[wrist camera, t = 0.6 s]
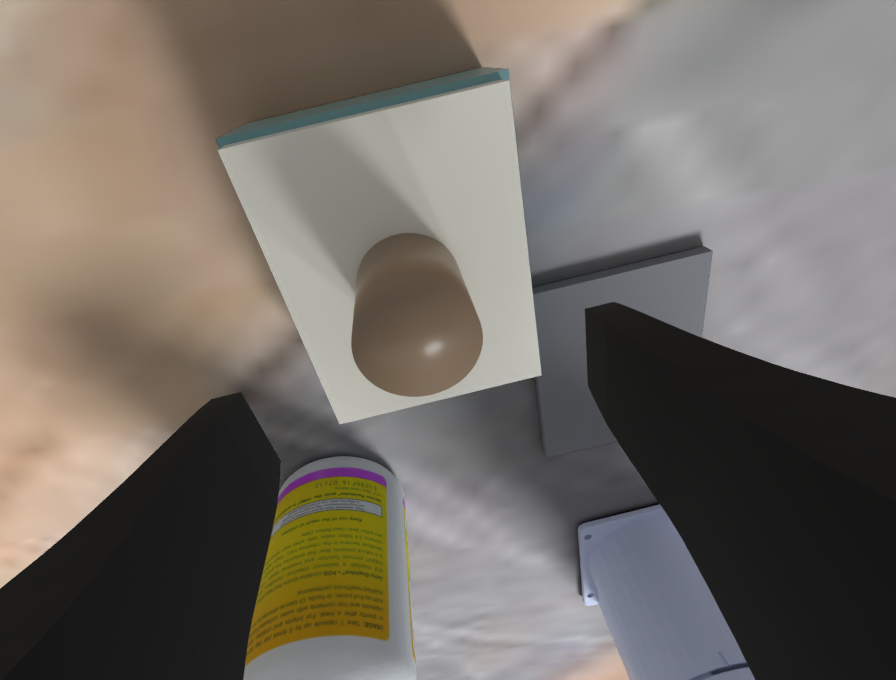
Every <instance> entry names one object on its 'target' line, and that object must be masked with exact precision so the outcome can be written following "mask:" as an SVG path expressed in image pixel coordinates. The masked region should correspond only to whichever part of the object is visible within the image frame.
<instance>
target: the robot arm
mask: <svg viewBox="0 0 896 680" xmlns="http://www.w3.org/2000/svg"><path fill="white" fill-rule="evenodd" d="M585 328H586V353H587V378H588V387H589V390H590V392H591V394H592V396H593V398H594V400H595V402H596V404H597V406H598V408H599V410H600V412H601V414H602V416H603V418H604V420H605V422H606V424H607V426H608V427H609V429H610V430H611V432H612V434H613V435H614V437H615V438H616V440H617V441H618V443H619V444H620V446H621V447H622V449H623V450H624V452H625V453H626V455H627V456H628V458H629V459H630V461H631V462H632V464H633V465H634V466H635V468H636V469H637V471H638V472H639V474H640V475H641V477H642V478H643V480H644V481H645V483H646V484H647V486H648V487H649V489H650V490H651V492H652V493H653V495H654V496H655V498H656V499H657V500H658V502H659V503H660V504H659V505H655V506H651V507H647V508H643V509H639V510H635V511H631V512H627V513H623V514H619V515H615V516H611V517H607V518H603V519H599V520H594V521H590V522H586V523H583V524H581V525H580V526H579V527H578V541H579V554H580V568H581V582H582V596H583V601H584V604H585V605H586V606H592V605H596V604H599V605H600V608H601V610H602V613H603V615H604V617H605V620H606V622H607V625H608V627H609V630H610V632H611V635H612V637H613V639H614V642H615V644H616V647H617V649H618V652H619V654H620V657H621V659H622V661H623V664H624V666H625V669H626V671H627V674H628V676H629V679H630V680H896V398H894V397H890V396H885V395H881V394H877V393H873V392H869V391H865V390H861V389H857V388H853V387H849V386H846V385H842V384H839V383H835V382H832V381H828V380H825V379H821V378H818V377H814V376H811V375H807V374H804V373H800V372H797V371H794V370H790V369H787V368H784V367H781V366H778V365H775V364H772V363H769V362H766V361H763V360H760V359H758V358H755V357H752V356H749V355H746V354H743V353H741V352H738V351H735V350H732V349H730V348H727V347H724V346H722V345H719V344H717V343H714V342H711V341H709V340H706V339H704V338H701V337H699V336H696V335H694V334H692V333H689V332H687V331H684V330H682V329H680V328H677V327H675V326H672V325H670V324H668V323H665V322H663V321H661V320H658V319H656V318H654V317H651V316H649V315H647V314H644V313H642V312H640V311H637V310H635V309H632V308H630V307H627V306H625V305H622V304H619V303H616V302H610V303H606V304H602V305H598V306H594V307H590V308H586V309H585ZM280 462H281V461H280V459H279V457H278V456H277V454H276V452H275V450H274V449H273V447H272V445H271V443H270V442H269V440H268V438H267V437H266V435H265V433H264V431H263V430H262V428H261V426H260V424H259V423H258V421H257V419H256V417H255V416H254V414H253V412H252V410H251V409H250V407H249V405H248V404H247V402H246V400H245V398H244V397H243V395H242V393H241V392H239V393H235V394H231V395H227V396H223V397H219V398H215V399H211V400H210V401H209V402H208V403H206V404H205V405H204V406H203V407H202V408H200V409H199V410H198V411H197V412H196V413H195V414H194V415H193V416H192V417H191V418H189V419H188V420H187V421H186V422H185V423H184V424H183V425H182V426H181V427H180V428H179V429H178V430H177V431H176V432H175V433H174V434H173V435H172V436H171V437H170V438H169V439H168V440H167V441H166V442H165V443H164V444H162V445H161V446H160V447H159V448H158V449H157V450H156V451H155V452H154V453H153V454H152V455H151V456H150V457H149V458H148V459H147V460H146V461H145V462H144V463H143V464H142V465H141V466H140V467H139V468H138V469H137V470H136V471H135V472H134V473H133V474H132V475H131V476H130V477H128V478H127V479H126V480H125V481H124V482H123V483H122V484H121V485H120V486H119V487H118V488H117V489H116V490H114V491H113V492H112V493H111V494H110V495H109V496H108V497H107V498H106V499H105V500H104V501H102V502H101V503H100V504H99V505H98V506H97V507H96V508H95V509H94V510H93V511H92V512H90V513H89V514H88V515H87V516H86V517H85V518H84V519H83V520H82V521H81V522H79V523H78V524H77V525H76V526H75V527H74V528H73V529H72V530H71V531H69V532H68V533H67V534H66V535H65V536H64V537H63V538H61V539H60V540H59V541H58V542H57V543H56V544H54V545H53V546H52V547H51V548H50V549H48V550H47V551H46V552H45V553H44V554H43V555H41V556H40V557H39V558H38V559H37V560H35V561H34V562H33V563H32V564H30V565H29V566H28V567H27V568H25V569H24V570H23V571H22V572H20V573H19V574H18V575H17V576H15V577H14V578H13V579H12V580H10V581H9V582H8V583H7V584H6V585H4V586H3V587H2V588H1V589H0V680H243V678H244V670H245V662H246V654H247V646H248V640H249V635H250V629H251V624H252V618H253V614H254V609H255V605H256V600H257V596H258V591H259V587H260V583H261V578H262V574H263V569H264V565H265V560H266V556H267V552H268V547H269V543H270V538H271V533H272V529H273V524H274V519H275V515H276V510H277V503H278V492H279V479H280Z"/></svg>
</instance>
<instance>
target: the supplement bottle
mask: <svg viewBox="0 0 896 680" xmlns="http://www.w3.org/2000/svg"><path fill="white" fill-rule="evenodd" d="M243 680H417V678H416V663H415V649H414V637H413V621H412V606H411V591H410V575H409V558H408V542H407V525H406V512H405V501H404V494H403V490H402V487H401V485H400V483H399V481H398V480H397V479H396V477H395V476H394V475H393V474H392V473H391V472H390V471H389V470H387V469H386V468H385V467H383V466H381V465H380V464H378V463H375V462H373V461H370V460H367V459H363V458H358V457H350V456H337V457H329V458H324V459H320V460H317V461H314V462H311V463H309V464H307V465H305V466H303V467H301V468H300V469H298V470H297V471H296V472H294V473H293V474H292V475H291V476H290V477H289V478H288V479H287V480H286V481H285V483H284V484H283V486H282V487H281V489H280V491H279V494H278V503H277V510H276V515H275V519H274V524H273V529H272V533H271V538H270V543H269V547H268V552H267V556H266V560H265V565H264V569H263V574H262V578H261V583H260V587H259V591H258V596H257V600H256V605H255V609H254V614H253V618H252V624H251V629H250V635H249V640H248V646H247V654H246V662H245V670H244V678H243Z"/></svg>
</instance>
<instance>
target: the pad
mask: <svg viewBox="0 0 896 680" xmlns="http://www.w3.org/2000/svg"><path fill="white" fill-rule="evenodd" d="M712 252H713V251H712V250H710V249H708V248H706V247H705V246H702V247H698V248H694V249H690V250H686V251H682V252H678V253H674V254H669V255H665V256H661V257H657V258H653V259H649V260H645V261H641V262H636V263H632V264H628V265H624V266H620V267H616V268H612V269H607V270H603V271H599V272H595V273H591V274H587V275H583V276H579V277H574V278H570V279H566V280H562V281H558V282H554V283H550V284H546V285H541V286H537V287H533V288H532V291H533V300H534V309H535V318H536V327H537V336H538V345H539V355H540V364H541V374H542V375H541V376H537V377H535V383H536V391H537V400H538V408H539V416H540V425H541V433H542V441H543V450H544V452H545V455H546V457H547V458H551V457H555V456H559V455H563V454H567V453H571V452H575V451H579V450H583V449H587V448H592V447H596V446H600V445H604V444H608V443H612V442H616V441H617V440H616V438H615V437H614V435H613V434H612V432H611V430H610V429H609V427H608V426H607V424H606V422H605V420H604V418H603V416H602V414H601V412H600V410H599V408H598V406H597V404H596V402H595V400H594V398H593V396H592V394H591V392H590V390H589V387H588V378H587V353H586V328H585V309H586V308H590V307H594V306H598V305H602V304H606V303H610V302H616V303H619V304H622V305H625V306H627V307H630V308H632V309H635V310H637V311H640V312H642V313H644V314H647V315H649V316H651V317H654V318H656V319H658V320H661V321H663V322H665V323H668V324H670V325H672V326H675V327H677V328H680V329H682V330H684V331H687V332H689V333H692V334H694V335H696V336H699V337H701V338H702V332H703V324H704V316H705V308H706V300H707V292H708V284H709V276H710V268H711V260H712Z"/></svg>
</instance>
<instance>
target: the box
mask: <svg viewBox="0 0 896 680" xmlns="http://www.w3.org/2000/svg"><path fill="white" fill-rule="evenodd" d="M501 79H504V80H509V71H508V69H501V68H488V67H481V68H477V69H472V70H468V71H464V72H460V73H456V74H451V75H447V76H443V77H439V78H435V79H430V80H426V81H422V82H418V83H414V84H409V85H405V86H401V87H397V88H393V89H388V90H384V91H380V92H376V93H372V94H367V95H363V96H359V97H355V98H351V99H346V100H342V101H338V102H334V103H330V104H325V105H321V106H317V107H313V108H309V109H304V110H300V111H296V112H292V113H288V114H283V115H279V116H275V117H271V118H267V119H262V120H258V121H254V122H250V123H246V124H244V125H242V126H240V127H238V128H236V129H234V130H232V131H230V132H228V133H226V134H224V135H222V136H220V137H218V138H216V142H217V144H218V146H219V148H222V147H223V146H225V145H228V144H232V143H237V142H241V141H245V140H249V139H253V138H258V137H262V136H266V135H270V134H274V133H279V132H283V131H287V130H291V129H295V128H300V127H304V126H308V125H312V124H316V123H320V122H325V121H329V120H333V119H337V118H341V117H346V116H350V115H354V114H358V113H362V112H367V111H371V110H375V109H379V108H383V107H388V106H392V105H396V104H400V103H404V102H409V101H413V100H417V99H421V98H425V97H430V96H434V95H438V94H442V93H446V92H451V91H455V90H459V89H463V88H467V87H472V86H476V85H480V84H484V83H488V82H493V81H497V80H501ZM509 82H510V80H509ZM510 91H511V89H510ZM511 100H512V98H511ZM512 109H513V107H512ZM513 119H514V117H513ZM514 128H515V126H514ZM515 137H516V135H515ZM516 146H517V144H516ZM517 155H518V153H517ZM518 164H519V162H518ZM519 173H520V171H519ZM520 182H521V181H520ZM521 192H522V190H521ZM522 201H523V199H522ZM523 210H524V208H523ZM524 219H525V217H524ZM525 228H526V226H525ZM526 237H527V236H526ZM527 246H528V245H527ZM528 256H529V254H528ZM529 265H530V263H529ZM530 274H531V272H530ZM531 283H532V281H531ZM532 292H533V291H532ZM533 301H534V300H533ZM534 310H535V309H534ZM535 319H536V318H535ZM536 329H537V327H536ZM537 338H538V336H537ZM538 347H539V345H538ZM539 356H540V355H539ZM540 365H541V364H540Z"/></svg>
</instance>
